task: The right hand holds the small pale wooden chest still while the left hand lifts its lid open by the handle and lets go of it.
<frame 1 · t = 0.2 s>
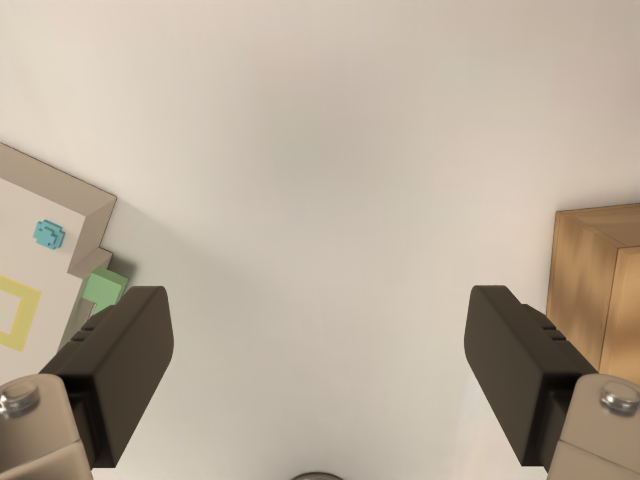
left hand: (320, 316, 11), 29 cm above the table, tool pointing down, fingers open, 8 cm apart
chest: (595, 279, 43), on the table
decorative block: (23, 279, 43), on the table
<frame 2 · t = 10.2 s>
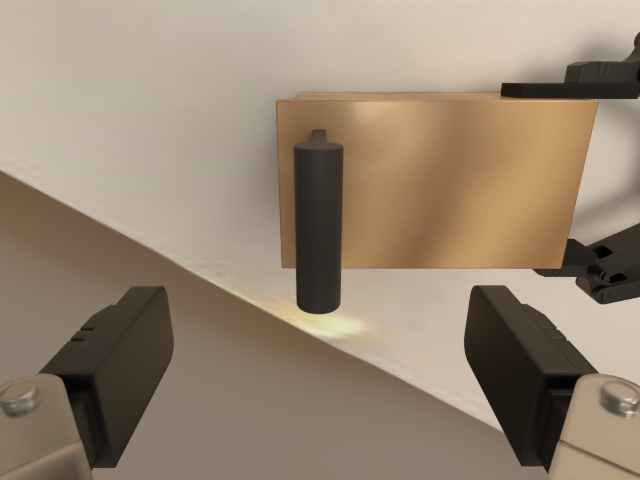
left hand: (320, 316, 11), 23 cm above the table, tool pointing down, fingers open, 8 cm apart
lid: (443, 207, 20), point 13 cm above the table, hinge at 0.0°
chest: (402, 156, 33), on the table, touching right hand
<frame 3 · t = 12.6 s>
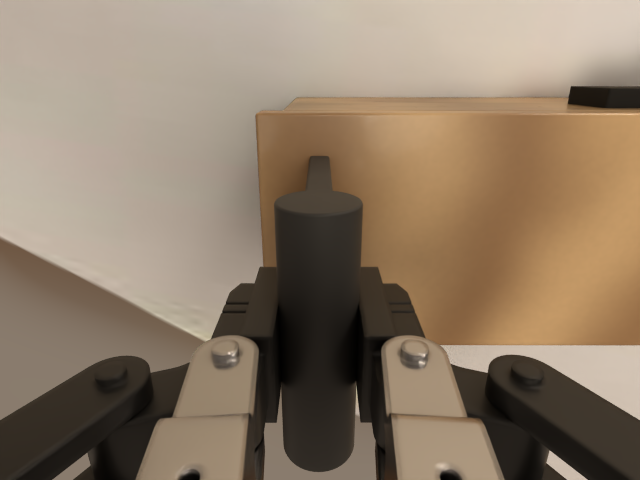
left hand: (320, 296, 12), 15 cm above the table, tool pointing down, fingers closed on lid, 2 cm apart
lid: (509, 277, 13), point 13 cm above the table, hinge at 0.0°, touching left hand
chest: (425, 179, 26), on the table, touching right hand
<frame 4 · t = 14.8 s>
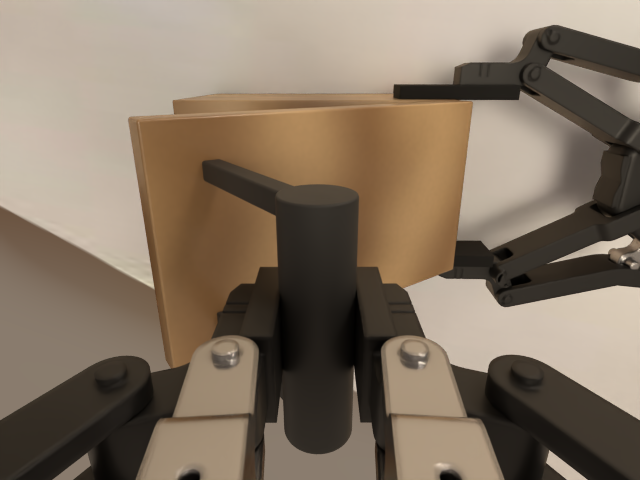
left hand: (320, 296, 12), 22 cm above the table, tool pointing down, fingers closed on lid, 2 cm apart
right hand: (391, 177, 27), fingers closed on chest, 9 cm apart
lid: (395, 238, 17), point 18 cm above the table, hinge at 37.4°, touching left hand
chest: (320, 157, 33), on the table, touching right hand
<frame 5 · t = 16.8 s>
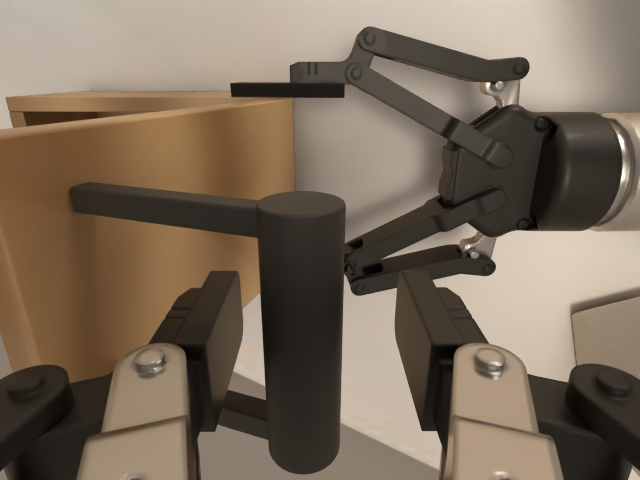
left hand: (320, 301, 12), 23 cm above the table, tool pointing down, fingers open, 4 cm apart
right hand: (240, 172, 28), fingers closed on chest, 9 cm apart
lid: (283, 238, 17), point 19 cm above the table, hinge at 69.8°
electronic device: (612, 348, 41), on the table
chest: (196, 153, 34), on the table, touching right hand
when the right hand's fingers open (7 cm above the table, at t = 20.1 s): chest stays where it is, on the table.
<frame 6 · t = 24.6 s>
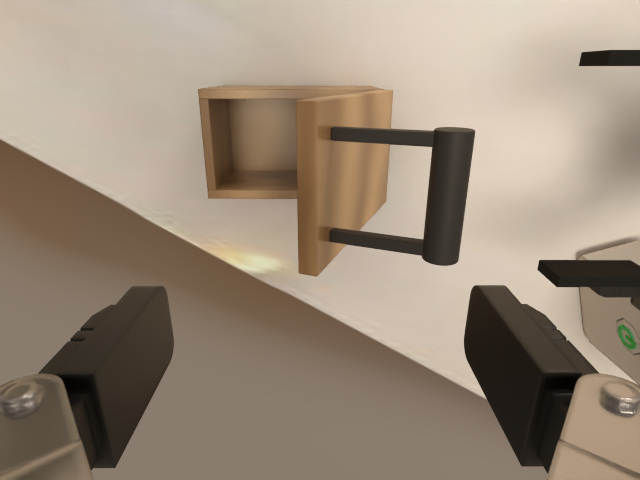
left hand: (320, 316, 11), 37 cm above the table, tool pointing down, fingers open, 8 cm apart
lid: (406, 169, 28), point 19 cm above the table, hinge at 68.3°
electronic device: (608, 287, 52), on the table
chest: (297, 132, 45), on the table
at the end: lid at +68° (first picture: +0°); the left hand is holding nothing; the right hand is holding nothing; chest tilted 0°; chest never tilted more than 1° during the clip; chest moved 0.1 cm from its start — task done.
